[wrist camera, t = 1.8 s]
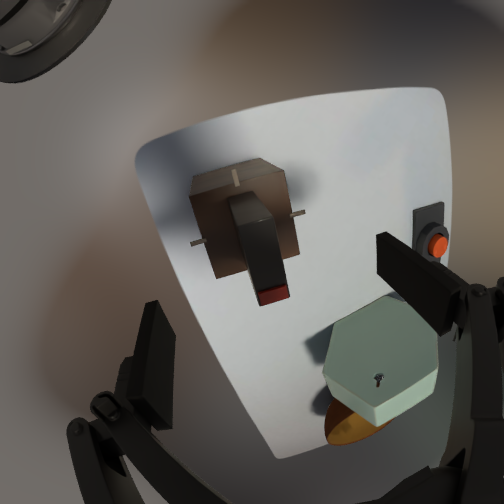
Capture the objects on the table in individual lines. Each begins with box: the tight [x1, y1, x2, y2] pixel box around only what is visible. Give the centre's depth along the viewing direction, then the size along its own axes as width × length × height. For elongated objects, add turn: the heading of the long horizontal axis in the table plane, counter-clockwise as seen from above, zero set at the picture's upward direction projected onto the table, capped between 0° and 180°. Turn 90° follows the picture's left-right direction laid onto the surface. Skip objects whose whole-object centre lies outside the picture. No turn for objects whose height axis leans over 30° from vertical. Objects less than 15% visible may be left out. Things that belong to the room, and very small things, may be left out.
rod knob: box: [227, 191, 290, 306], centre depth 21 cm, size 6×2×7 cm, turn 13°
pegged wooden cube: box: [189, 158, 305, 279], centre depth 28 cm, size 10×10×10 cm
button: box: [428, 234, 448, 258], centre depth 38 cm, size 4×4×2 cm
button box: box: [412, 202, 449, 263], centre depth 40 cm, size 12×7×2 cm, turn 14°
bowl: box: [324, 382, 395, 446], centre depth 50 cm, size 18×18×10 cm
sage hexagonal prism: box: [322, 296, 438, 427], centre depth 38 cm, size 17×8×21 cm
